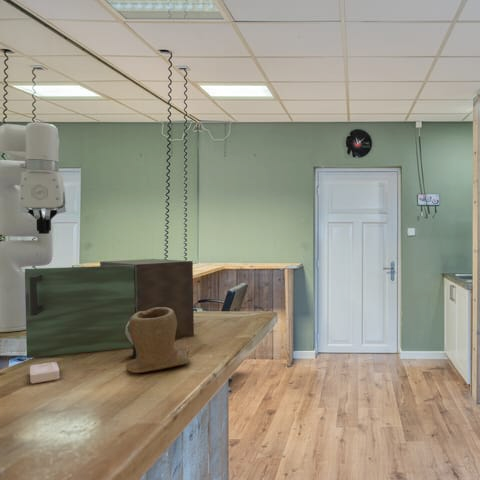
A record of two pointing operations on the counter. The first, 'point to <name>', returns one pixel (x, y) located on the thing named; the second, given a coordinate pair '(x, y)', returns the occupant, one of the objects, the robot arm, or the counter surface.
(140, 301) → the cupboard
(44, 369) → the soap bar
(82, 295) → the cupboard door
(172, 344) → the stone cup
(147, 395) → the counter surface
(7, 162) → the robot arm
